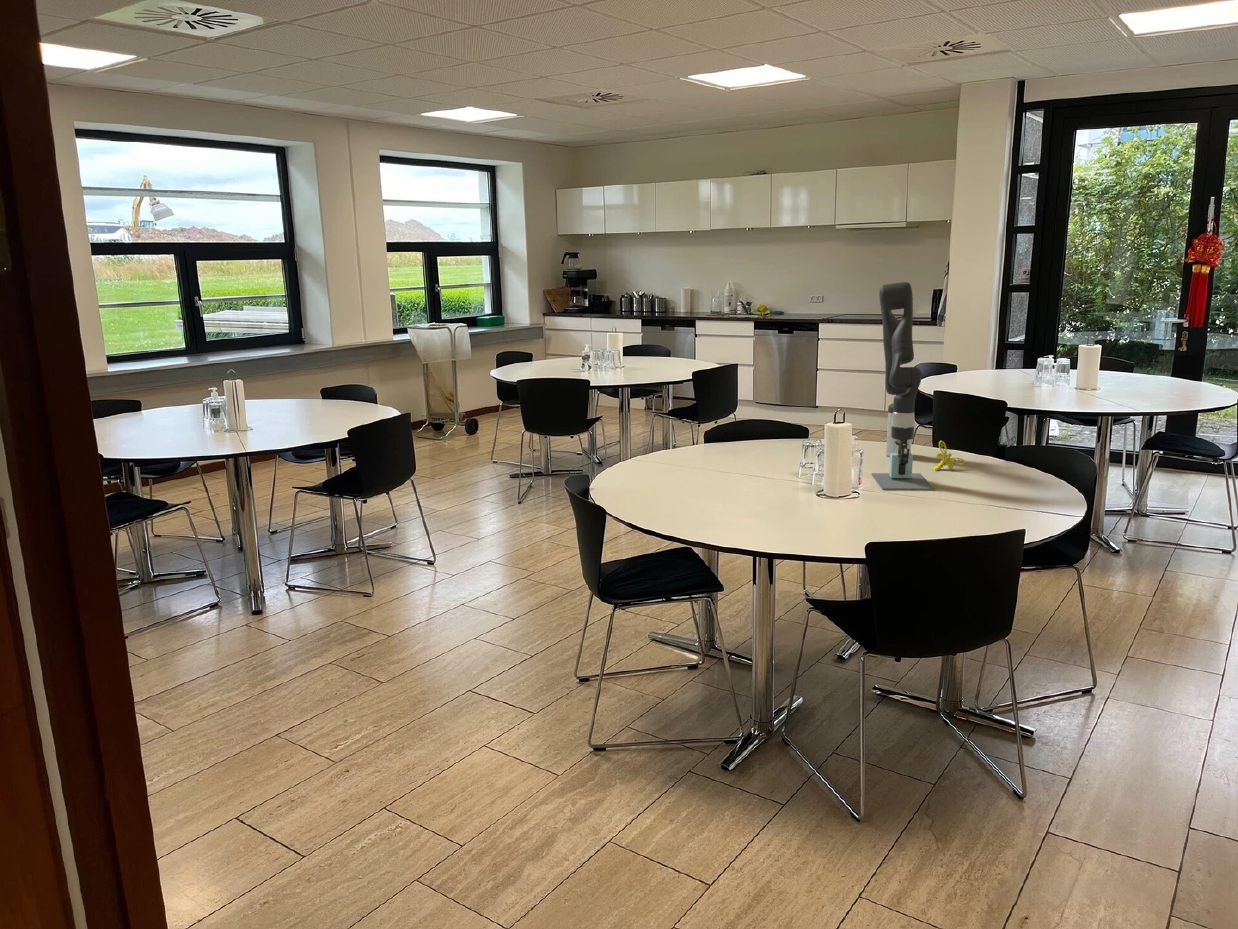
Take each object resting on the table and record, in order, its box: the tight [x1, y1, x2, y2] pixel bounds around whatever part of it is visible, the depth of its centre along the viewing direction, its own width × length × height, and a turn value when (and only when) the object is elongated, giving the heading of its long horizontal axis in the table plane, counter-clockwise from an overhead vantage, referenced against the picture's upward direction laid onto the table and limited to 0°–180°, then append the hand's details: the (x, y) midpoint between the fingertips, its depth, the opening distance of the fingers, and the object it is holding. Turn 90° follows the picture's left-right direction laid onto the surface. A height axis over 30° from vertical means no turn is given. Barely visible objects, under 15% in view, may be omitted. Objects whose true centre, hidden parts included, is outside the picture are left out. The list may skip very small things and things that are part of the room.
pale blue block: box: [888, 452, 914, 478], centre depth 317 cm, size 4×7×8 cm, turn 84°
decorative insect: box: [931, 440, 966, 472], centre depth 332 cm, size 13×3×10 cm
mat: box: [871, 472, 936, 491], centre depth 315 cm, size 22×17×1 cm
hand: (900, 472), depth 317 cm, fingers closed on pale blue block, 3 cm apart
